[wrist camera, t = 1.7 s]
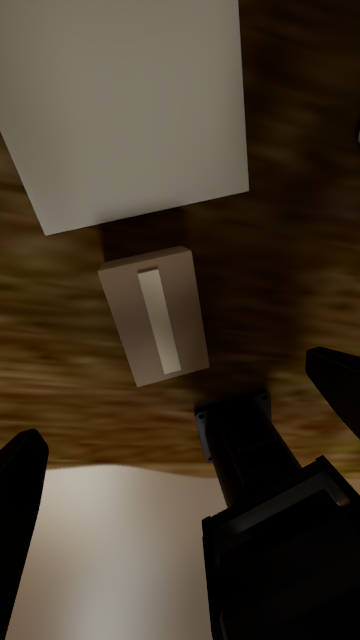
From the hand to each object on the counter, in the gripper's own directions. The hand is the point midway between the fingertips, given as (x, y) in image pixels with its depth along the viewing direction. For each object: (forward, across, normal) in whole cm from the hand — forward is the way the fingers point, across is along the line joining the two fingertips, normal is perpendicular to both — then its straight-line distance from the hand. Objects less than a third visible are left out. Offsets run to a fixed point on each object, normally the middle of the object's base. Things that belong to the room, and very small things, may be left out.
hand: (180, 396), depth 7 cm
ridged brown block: (+8, 0, 0) cm, 8 cm away
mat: (+8, -1, -11) cm, 13 cm away
